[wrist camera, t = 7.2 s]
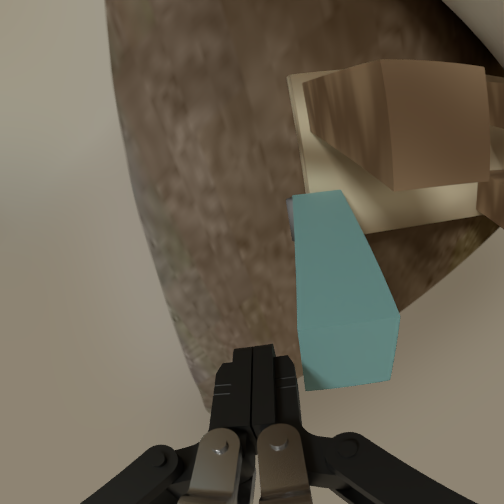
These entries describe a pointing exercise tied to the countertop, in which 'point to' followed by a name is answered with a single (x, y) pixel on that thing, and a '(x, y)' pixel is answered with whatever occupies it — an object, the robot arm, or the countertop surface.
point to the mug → (483, 22)
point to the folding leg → (339, 296)
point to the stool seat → (403, 140)
